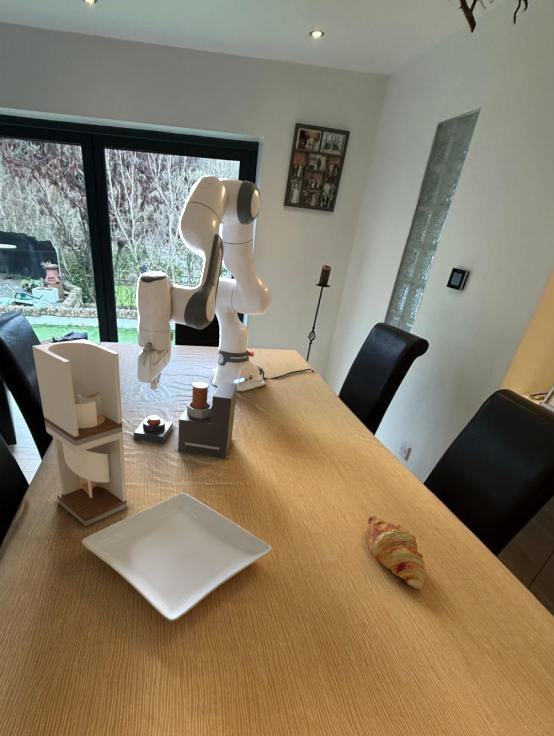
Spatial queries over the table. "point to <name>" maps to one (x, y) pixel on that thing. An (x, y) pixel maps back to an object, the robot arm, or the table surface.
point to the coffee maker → (209, 424)
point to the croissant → (396, 551)
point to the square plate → (176, 552)
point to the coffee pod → (199, 395)
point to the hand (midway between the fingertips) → (155, 387)
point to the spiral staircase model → (84, 425)
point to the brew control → (153, 431)
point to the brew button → (153, 420)
